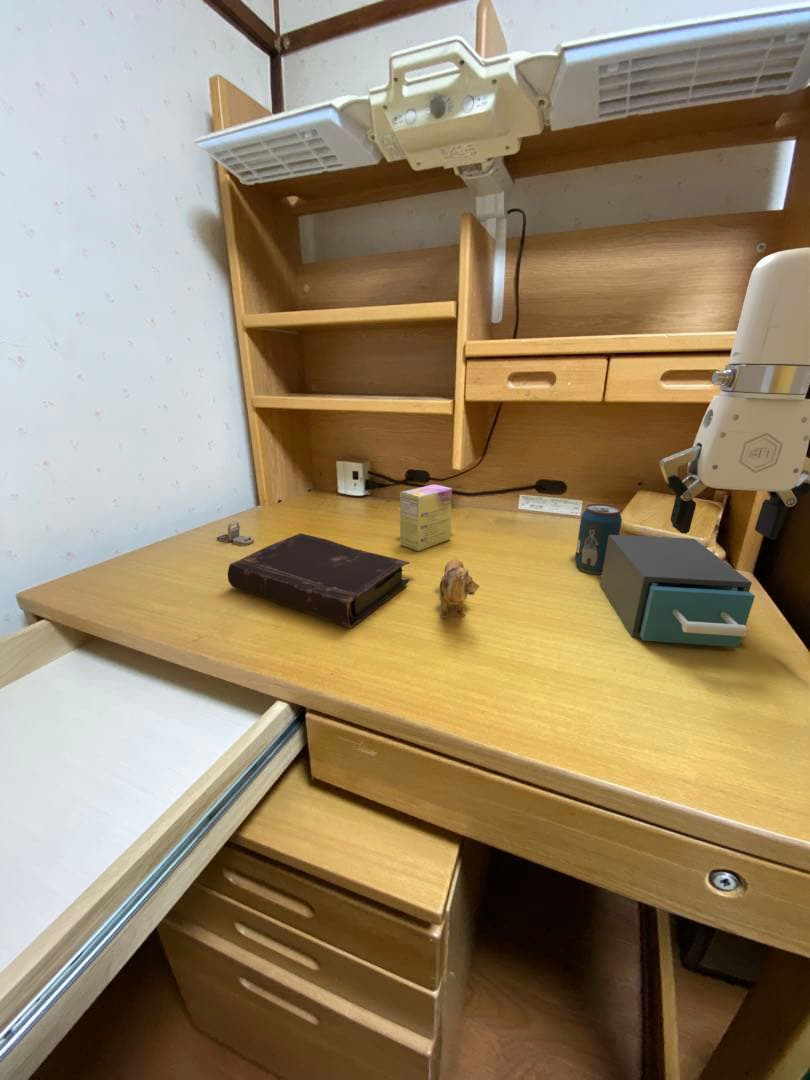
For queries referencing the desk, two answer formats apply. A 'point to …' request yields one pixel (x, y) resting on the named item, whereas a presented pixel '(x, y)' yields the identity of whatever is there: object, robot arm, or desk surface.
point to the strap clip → (235, 536)
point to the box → (425, 516)
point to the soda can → (596, 536)
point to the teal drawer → (695, 614)
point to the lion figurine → (455, 587)
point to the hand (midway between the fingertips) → (721, 532)
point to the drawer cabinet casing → (658, 571)
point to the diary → (320, 577)
